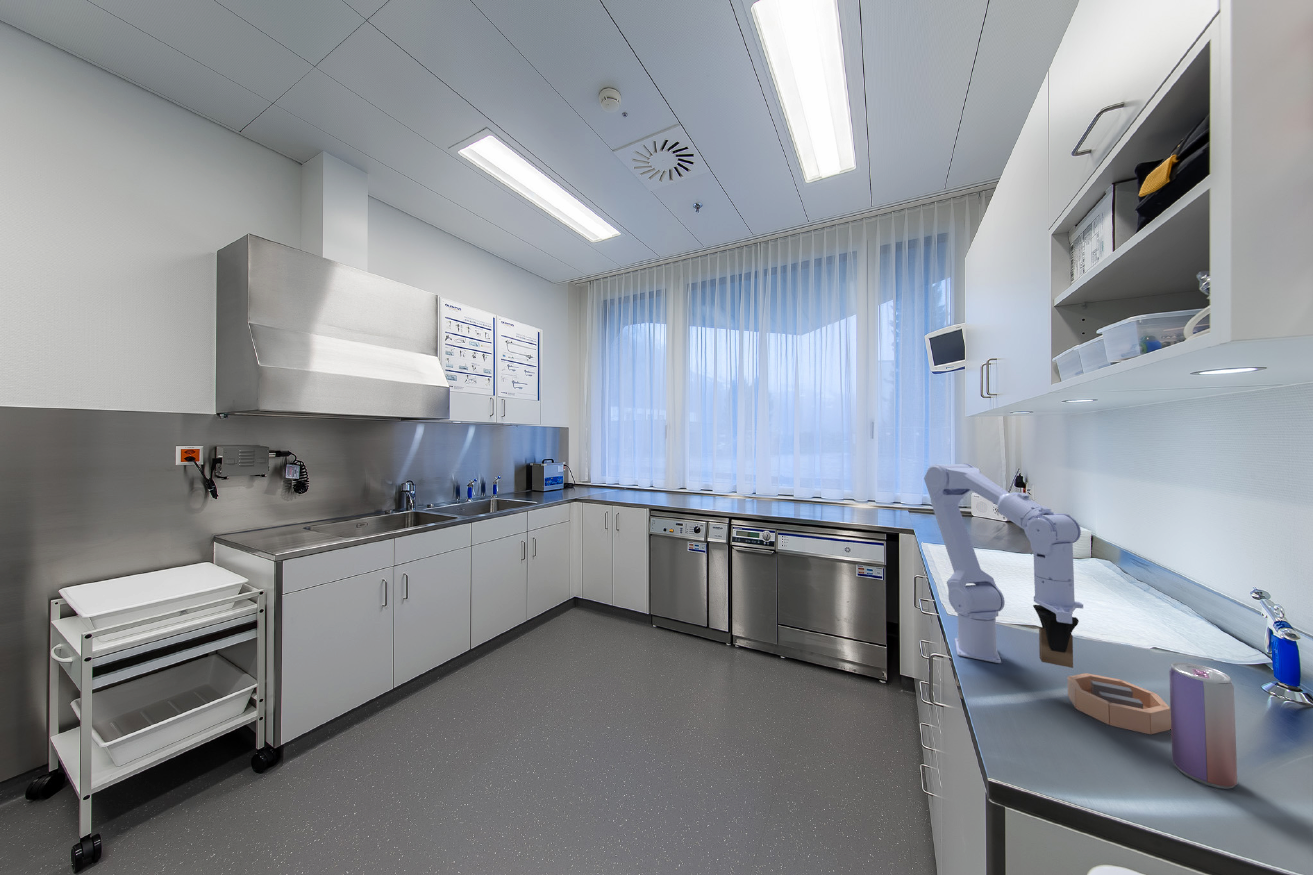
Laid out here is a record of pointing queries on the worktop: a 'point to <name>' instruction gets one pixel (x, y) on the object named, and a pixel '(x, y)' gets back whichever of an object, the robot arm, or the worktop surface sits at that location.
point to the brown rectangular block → (1055, 656)
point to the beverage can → (1203, 724)
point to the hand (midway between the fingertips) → (1056, 648)
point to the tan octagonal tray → (1119, 703)
